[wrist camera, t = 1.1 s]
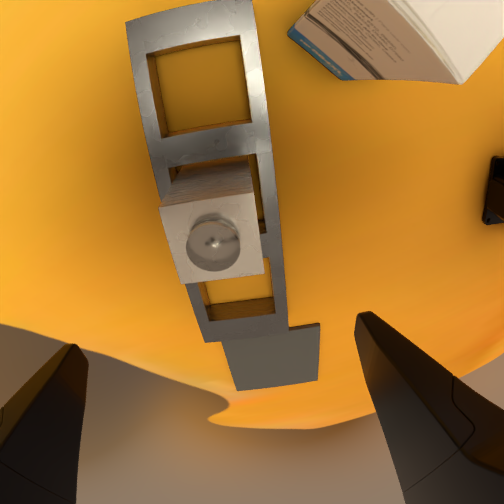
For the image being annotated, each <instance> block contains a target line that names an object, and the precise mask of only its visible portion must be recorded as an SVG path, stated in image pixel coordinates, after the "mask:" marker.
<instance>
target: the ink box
mask: <svg viewBox="0 0 504 504" xmlns="http://www.w3.org/2000/svg"><path fill="white" fill-rule="evenodd" d="M287 35H288V36H289V37H290V38H291V39H292V40H294V41H295V42H296V43H298V44H299V45H300V46H301V47H302V48H304V49H305V50H306V51H307V52H309V53H310V54H311V55H312V56H313V57H315V58H316V59H317V60H318V61H319V62H320V63H322V64H323V65H324V66H325V67H326V68H327V69H329V70H330V71H331V72H332V73H333V74H334V75H336V76H337V77H338V78H339V79H341V80H412V81H428V82H440V83H450V84H458V85H459V84H463V83H464V82H465V81H466V80H467V79H468V78H469V77H470V76H471V75H472V74H473V72H474V71H475V70H476V69H477V68H478V67H479V66H480V65H481V63H482V62H483V61H484V60H485V59H486V58H487V56H488V55H489V54H490V53H491V52H492V51H493V49H494V48H495V47H496V46H497V44H498V43H499V42H500V41H501V40H502V39H503V37H504V0H316V1H315V2H314V3H313V4H312V5H311V6H310V7H309V9H308V10H307V11H306V12H305V13H304V14H303V15H302V16H301V17H300V18H299V19H298V21H297V22H296V23H295V24H294V25H293V26H292V27H291V28H290V29H289V31H288V33H287Z"/></svg>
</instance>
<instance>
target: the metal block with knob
mask: <svg viewBox="0 0 504 504" xmlns="http://www.w3.org/2000/svg"><path fill="white" fill-rule="evenodd" d="M158 209H159V213H160V216H161V220H162V223H163V227H164V230H165V234H166V237H167V240H168V244H169V247H170V250H171V254H172V257H173V260H174V263H175V267H176V270H177V273H178V276H179V279H180V282H181V284H187V283H196V282H204V281H212V280H220V279H227V278H235V277H243V276H250V275H258V274H265V272H264V265H263V257H262V250H261V242H260V235H259V227H258V220H257V212H256V205H255V197H254V190H253V184H252V178H251V172H250V166H249V159H248V155H242V156H235V157H229V158H222V159H216V160H210V161H204V162H198V163H193V164H187V165H183V166H182V168H181V170H180V171H179V173H178V175H177V176H176V178H175V180H174V181H173V183H172V185H171V186H170V188H169V190H168V192H167V193H166V195H165V197H164V198H163V200H162V202H161V204H160V206H159V207H158Z"/></svg>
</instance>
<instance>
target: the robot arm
mask: <svg viewBox="0 0 504 504" xmlns="http://www.w3.org/2000/svg"><path fill="white" fill-rule="evenodd" d="M496 162H497V163H496ZM482 221H483V223H484V224H486V225H491V224H498V223H504V157H497V156H495V157H494V158H493V159H492V164H491V172H490V180H489V186H488V193H487V198H486V204H485V209H484V214H483V220H482ZM354 336H355V341H356V345H357V349H358V353H359V357H360V361H361V365H362V369H363V373H364V377H365V381H366V384H367V387H368V390H369V393H370V395H371V398H372V401H373V404H374V406H375V409H376V412H377V415H378V418H379V420H380V424H381V426H382V429H383V432H384V435H385V438H386V441H387V444H388V447H389V450H390V453H391V457H392V460H393V463H394V466H395V469H396V472H397V475H398V479H399V482H400V485H401V489H402V492H403V496H404V500H405V503H406V504H504V410H503V409H501V408H500V407H498V406H497V405H495V404H493V403H492V402H490V401H489V400H487V399H486V398H484V397H483V396H481V395H480V394H478V393H477V392H475V391H474V390H472V389H471V388H470V387H469V386H467V385H466V384H465V383H463V382H462V381H461V380H459V379H458V378H457V377H456V376H453V374H452V373H451V372H449V371H448V370H447V369H446V368H444V367H443V366H442V365H441V364H439V363H438V362H437V361H435V360H434V359H433V358H432V357H430V356H429V355H428V354H426V353H425V352H424V351H423V350H421V349H420V348H419V347H417V346H416V345H415V344H414V343H412V342H411V341H410V340H408V339H407V338H406V337H404V336H403V335H402V334H401V333H399V332H398V331H397V330H395V329H394V328H393V327H391V326H390V325H389V324H387V323H386V322H385V321H384V320H382V319H381V318H380V317H378V316H377V315H376V314H374V313H373V312H371V311H366V312H361V313H358V314H357V317H356V324H355V331H354ZM88 367H89V364H88V360H87V358H86V356H85V355H84V354H83V352H82V351H81V349H80V348H79V346H78V345H76V344H65V345H64V346H63V347H62V348H61V349H60V350H59V351H58V352H57V353H55V355H53V356H52V357H51V358H50V359H49V360H48V361H47V362H46V363H45V364H44V365H43V366H42V367H41V368H40V369H39V370H38V371H37V372H36V373H35V374H34V375H33V376H32V377H31V378H30V379H29V380H28V381H27V382H26V383H25V384H24V385H23V386H22V387H21V388H20V389H19V390H18V391H17V392H16V393H15V395H13V397H11V398H10V399H9V401H8V402H7V403H6V404H5V405H4V407H2V408H1V409H0V504H76V491H77V473H78V461H79V450H80V441H81V431H82V425H83V417H84V410H85V403H86V388H87V377H88Z"/></svg>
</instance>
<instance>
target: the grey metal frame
mask: <svg viewBox="0 0 504 504" xmlns="http://www.w3.org/2000/svg"><path fill="white" fill-rule="evenodd" d="M125 24H126V31H127V39H128V45H129V52H130V58H131V65H132V71H133V76H134V82H135V88H136V93H137V98H138V104H139V109H140V114H141V118H142V123H143V128H144V133H145V137H146V142H147V146H148V151H149V155H150V159H151V163H152V168H153V172H154V176H155V180H156V184H157V188H158V192H159V196H160V199H161V202H162V200H163V198H164V197H165V195H166V193H167V192H168V190H169V188H170V186H171V185H172V183H173V181H174V180H175V178H176V176H177V171H176V166H181V165H186V164H191V163H197V162H203V161H209V160H215V159H221V158H227V157H234V156H241V155H248V154H255V153H256V161H257V168H258V176H259V184H260V191H261V199H262V207H263V215H264V220H258V227H259V235H260V242H261V250H262V257H263V258H266V257H269V265H270V274H271V282H272V291H273V297H269V298H262V299H255V300H247V301H239V302H231V303H223V304H214V305H210V301H209V298H208V294H207V291H206V287H205V284H204V282H196V283H187V284H185V285H186V288H187V292H188V295H189V298H190V301H191V304H192V307H193V310H194V313H195V316H196V319H197V321H198V324H199V327H200V330H201V333H202V336H203V339H204V341H205V343H208V342H219V341H229V340H238V339H246V338H255V337H263V336H270V335H278V334H285V333H289V326H288V312H287V298H286V286H285V274H284V262H283V250H282V239H281V229H280V218H279V208H278V198H277V188H276V179H275V170H274V161H273V152H272V143H271V135H270V126H269V118H268V110H267V102H266V94H265V87H264V79H263V72H262V65H261V57H260V50H259V44H258V37H257V30H256V24H255V17H254V11H253V4H252V0H214V1H208V2H203V3H197V4H192V5H187V6H182V7H178V8H174V9H170V10H166V11H162V12H158V13H154V14H151V15H147V16H144V17H140V18H137V19H134V20H131V21H128V22H125ZM236 40H240V46H241V53H242V60H243V66H244V73H245V80H246V87H247V94H248V101H249V109H250V116H251V119H247V120H239V121H233V122H226V123H220V124H214V125H208V126H202V127H197V128H191V129H186V130H181V131H176V132H172V133H168V128H167V123H166V118H165V113H164V108H163V102H162V97H161V91H160V86H159V80H158V74H157V68H156V62H155V56H159V55H163V54H167V53H171V52H175V51H179V50H184V49H189V48H193V47H199V46H204V45H210V44H216V43H222V42H229V41H236Z"/></svg>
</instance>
